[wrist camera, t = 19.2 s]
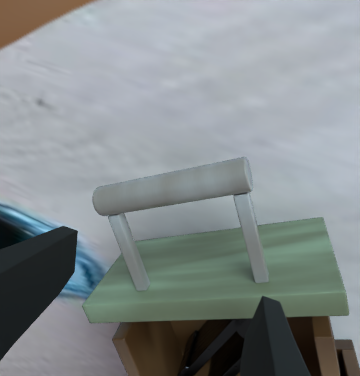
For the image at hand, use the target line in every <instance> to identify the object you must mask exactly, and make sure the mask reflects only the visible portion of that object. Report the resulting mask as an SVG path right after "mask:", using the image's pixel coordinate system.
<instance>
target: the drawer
mask: <svg viewBox="0 0 360 376" xmlns="http://www.w3.org/2000/svg"><path fill="white" fill-rule="evenodd" d="M252 190H253V180H252V174H251V169H250V165H249V162H248V159H247V158H246V157H242V158H237V159H232V160H227V161H222V162H217V163H212V164H208V165H203V166H198V167H193V168H188V169H183V170H178V171H173V172H169V173H164V174H159V175H154V176H149V177H144V178H139V179H135V180H130V181H125V182H120V183H115V184H110V185H105V186H100V187H98V188H96V189H95V191H94V193H93V205H94V208H95V210H96V211H97V213H98V214H100V215H102V216H108V215H109V216H108V219H109V222H110V224H111V227H112V229H113V232H114V234H115V237H116V239H117V242H118V244H119V247H120V249H121V252H122V253H121V255H120V256H119V257H118V259H117V260H116V261H115V263H114V264H113V265H112V267H111V268H110V269H109V271H108V272H107V273H106V275H105V276H104V277H103V279H102V280H101V281H100V282H99V284H98V285H97V286H96V288H95V289H94V290H93V292H92V293H91V294H90V296H89V297H88V298H87V300H86V301H85V302H84V304H83V305H82V307H83V309H84V311H85V313H86V316H87V318H88V320H89V322H90V323H113V322H122V323H121V324H120V326H119V328H118V330H117V332H116V333H115V335H114V337H113V339H112V341H113V343H114V345H115V347H116V350H117V352H118V354H119V356H120V359H121V361H122V363H123V365H124V367H125V370H126V372H127V374H128V376H177V374H178V371H179V367H180V364H181V361H182V357H183V354H184V351H185V347H186V344H187V340H188V338H189V337H190V336H191V335H192V333H193V332H194V331H195V330H197V331H198V330H199V329H200V328H201V327H202V326H203V325H204V323H205V322H206V321H207V320H213V319H247V318H253V316H254V314H255V311H256V309H257V307H258V304H259V302H260V300H261V297H262V296H265V297H268V298H271V299H274V300H277V301H280V303H281V305H282V308H283V311H284V313H285V316H286V319H287V321H288V324H289V327H290V329H291V332H292V334H293V337H294V339H295V342H296V344H297V346H298V349H299V351H300V353H301V355H302V358H303V360H304V362H305V364H306V366H307V369H308V371H309V373H310V375H311V376H340V370H339V364H338V359H337V353H336V347H335V341H334V336H333V331H332V327H331V322H330V317H329V316H347V315H349V309H348V302H347V296H346V290H345V287H344V284H343V281H342V277H341V274H340V271H339V268H338V264H337V261H336V258H335V255H334V251H333V248H332V245H331V242H330V238H329V235H328V232H327V229H326V225H325V222H324V219H323V217H320V218H312V219H304V220H296V221H289V222H281V223H273V224H265V225H258V226H257V222H256V217H255V213H254V209H253V205H252V200H251V196H250V192H251V191H252ZM228 195H234V201H235V205H236V209H237V213H238V217H239V221H240V225H241V228H234V229H227V230H219V231H211V232H203V233H196V234H188V235H180V236H172V237H165V238H157V239H149V240H141V241H134V238H133V236H132V233H131V230H130V228H129V225H128V222H127V220H126V217H125V214H124V213H126V212H132V211H138V210H144V209H150V208H156V207H162V206H168V205H174V204H180V203H186V202H192V201H198V200H204V199H210V198H216V197H222V196H228ZM210 362H211V358H210V359H209V360H208V362H207V363H206V364H205V365H204V366H203V367H202V368H201V369H200V370H199V371H198V372H197V373H196V374H195V375H194V376H208V372H209V367H210ZM236 376H240V372H239V373H238V374H237V375H236Z"/></svg>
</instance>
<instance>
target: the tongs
mask: <svg viewBox="0 0 360 376" xmlns="http://www.w3.org/2000/svg"><path fill="white" fill-rule="evenodd" d="M251 321H252V318H247V319H213V320H207V321H206V322H205V323H204V325H203V326H202V327H201V328H200V329H199V330H198V331H197V330H195V331H194V332H193V333H192V335H191V336H190V337H189V338H188V340H187V344H186V347H185V351H184V354H183V357H182V361H181V364H180V367H179V371H178V374H177V376H194V375H195V374H196V373H197V372H198V371H199V370H200V369H201V368H202V367H203V366H204V365H205V364H206V363H207V362H208V360H209V359H210V358H211V362H210V367H209V372H208V376H236V375H237V374H238V373H239V372H240V364H241V357H242V351H243V345H244V339H245V334H246V332H247V330H248V327H249V325H250V323H251Z"/></svg>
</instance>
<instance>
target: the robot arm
mask: <svg viewBox="0 0 360 376" xmlns="http://www.w3.org/2000/svg"><path fill="white" fill-rule="evenodd" d="M77 233H78V231H77V230H74V229H71V228H68V227H65V226H62V227H59V228H56V229H53V230H51V231H48V232H46V233H43V234H41V235H38V236H36V237H33V238H30V239H28V240H25V241H23V242H20V243H17V244H15V245H12V246H9V247H6V248H4V249H1V250H0V361H1V359H2V358H3V357H4V355H5V354H6V353H7V352H8V350H9V349H10V348H11V347H12V346H13V344H14V343H15V342H16V341H17V340H18V339H19V338H20V337H21V335H22V334H23V333H24V332H25V331H26V330H27V329H28V328H29V327H30V326H31V324H32V323H33V322H34V321H35V320H36V319H37V318H38V317H39V316H40V315H41V313H42V312H43V311H44V310H45V309H46V308H47V307H48V306H49V305H50V304H51V302H52V301H53V300H54V299H55V298H56V297H57V296H58V294H59V293H60V292H61V290H62V289H63V288H64V286H65V285H66V284H67V282H68V281H69V279H70V278H71V276H72V275H73V273H74V271H75V258H76V245H77ZM240 376H311V375H310V373H309V371H308V369H307V366H306V364H305V362H304V360H303V358H302V355H301V353H300V351H299V349H298V346H297V344H296V342H295V339H294V337H293V334H292V332H291V329H290V327H289V324H288V321H287V319H286V316H285V313H284V311H283V308H282V305H281V303H280V301H277V300H274V299H271V298H268V297H265V296H262V297H261V300H260V302H259V304H258V307H257V309H256V311H255V314H254V316H253V318H252V321H251V323H250V325H249V327H248V330H247V332H246V334H245V339H244V345H243V351H242V357H241V364H240Z"/></svg>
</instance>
